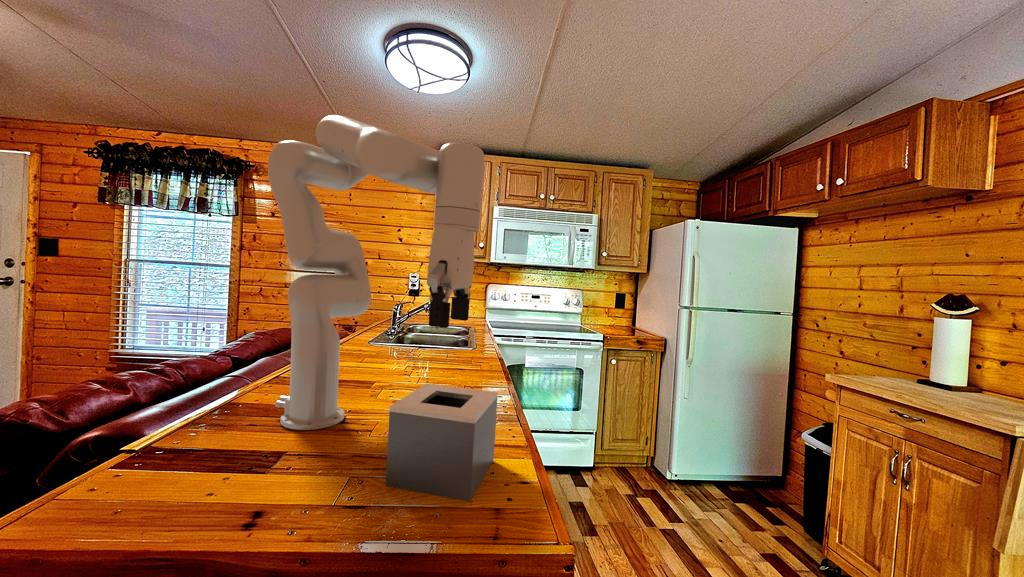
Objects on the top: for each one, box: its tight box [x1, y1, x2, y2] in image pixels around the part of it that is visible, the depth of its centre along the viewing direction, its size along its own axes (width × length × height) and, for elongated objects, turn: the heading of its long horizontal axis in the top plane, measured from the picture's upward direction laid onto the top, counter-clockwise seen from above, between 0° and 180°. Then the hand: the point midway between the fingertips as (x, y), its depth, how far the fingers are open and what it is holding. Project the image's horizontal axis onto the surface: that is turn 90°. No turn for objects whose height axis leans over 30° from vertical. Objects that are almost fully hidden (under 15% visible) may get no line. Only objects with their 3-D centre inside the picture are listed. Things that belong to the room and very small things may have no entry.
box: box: [385, 383, 499, 502], centre depth 72 cm, size 14×14×13 cm
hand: (449, 323), depth 71 cm, fingers open, 9 cm apart
